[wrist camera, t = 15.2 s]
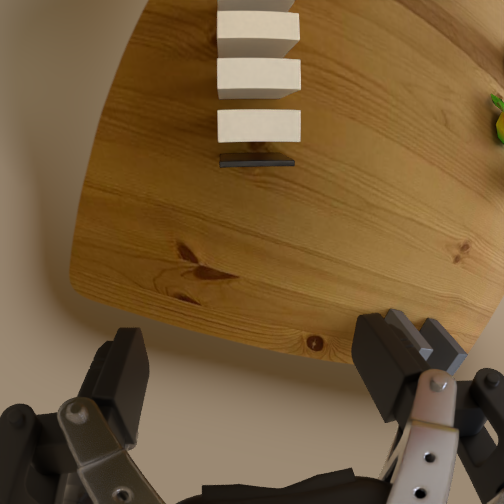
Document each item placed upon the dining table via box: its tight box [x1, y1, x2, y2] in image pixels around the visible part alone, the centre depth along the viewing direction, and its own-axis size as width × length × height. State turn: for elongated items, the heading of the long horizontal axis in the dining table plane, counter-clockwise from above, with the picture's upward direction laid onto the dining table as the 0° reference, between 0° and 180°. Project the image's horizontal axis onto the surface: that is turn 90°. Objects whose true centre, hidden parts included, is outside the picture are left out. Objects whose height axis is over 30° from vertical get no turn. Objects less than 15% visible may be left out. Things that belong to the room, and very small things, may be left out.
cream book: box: [217, 109, 300, 142], centre depth 26 cm, size 2×6×9 cm, turn 91°
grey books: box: [384, 309, 468, 376], centre depth 38 cm, size 10×6×9 cm, turn 71°
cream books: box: [217, 0, 301, 168], centre depth 24 cm, size 16×6×9 cm, turn 1°
